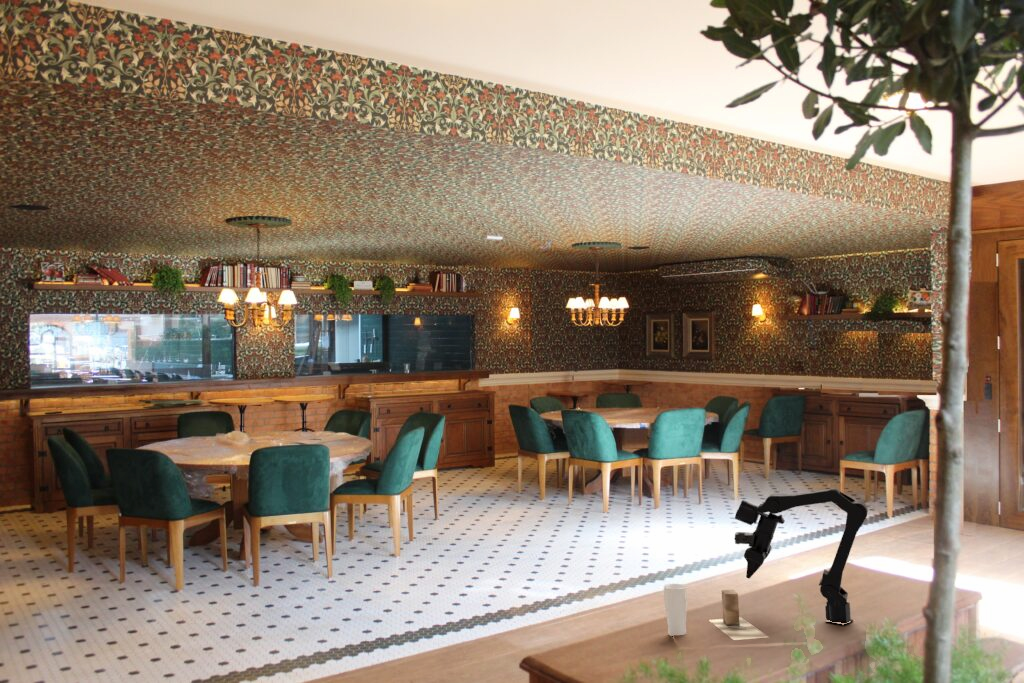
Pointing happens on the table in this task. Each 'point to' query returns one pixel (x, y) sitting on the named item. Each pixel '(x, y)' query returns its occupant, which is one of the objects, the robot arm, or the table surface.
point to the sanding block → (730, 608)
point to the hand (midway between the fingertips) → (749, 574)
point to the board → (739, 630)
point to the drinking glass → (675, 608)
